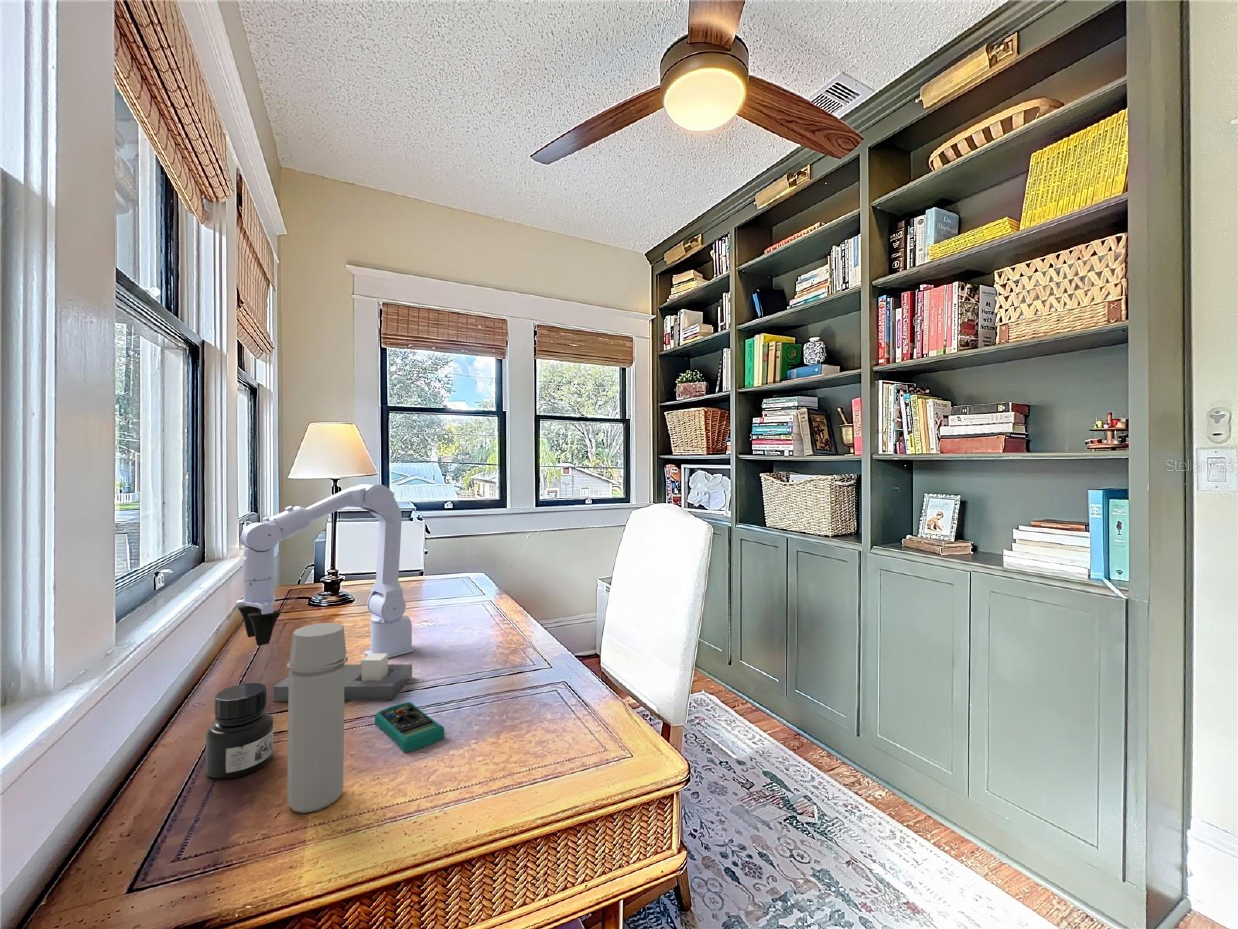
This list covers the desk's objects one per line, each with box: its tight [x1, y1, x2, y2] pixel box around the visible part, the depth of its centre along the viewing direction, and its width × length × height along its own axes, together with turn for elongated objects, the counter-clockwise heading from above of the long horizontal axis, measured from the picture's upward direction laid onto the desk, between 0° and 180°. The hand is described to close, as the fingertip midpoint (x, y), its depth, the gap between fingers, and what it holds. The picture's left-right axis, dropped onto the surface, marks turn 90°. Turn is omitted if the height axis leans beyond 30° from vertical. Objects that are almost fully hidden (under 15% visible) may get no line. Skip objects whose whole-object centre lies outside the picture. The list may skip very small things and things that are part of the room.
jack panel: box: [273, 663, 413, 702], centre depth 116 cm, size 24×12×3 cm, turn 92°
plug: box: [360, 654, 389, 681], centre depth 116 cm, size 5×4×7 cm
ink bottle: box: [205, 682, 274, 780], centre depth 87 cm, size 10×9×12 cm
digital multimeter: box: [374, 701, 445, 753], centre depth 98 cm, size 7×15×3 cm, turn 44°
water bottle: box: [286, 622, 349, 814], centre depth 79 cm, size 9×8×25 cm
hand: (258, 640), depth 116 cm, fingers open, 7 cm apart
